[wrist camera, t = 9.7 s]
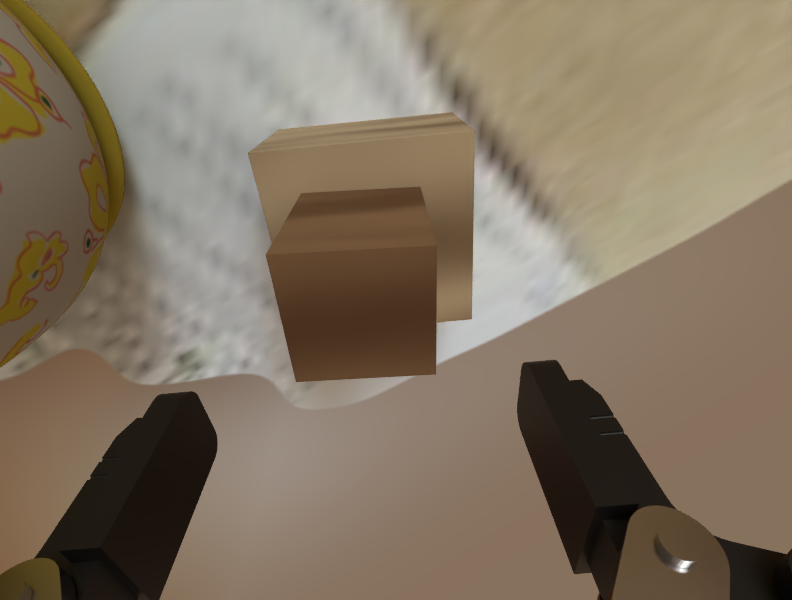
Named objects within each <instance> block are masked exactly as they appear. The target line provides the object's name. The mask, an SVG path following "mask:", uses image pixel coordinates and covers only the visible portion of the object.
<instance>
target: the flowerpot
mask: <svg viewBox="0 0 792 600" xmlns="http://www.w3.org/2000/svg"><path fill="white" fill-rule="evenodd" d="M124 184H125V172H124V161H123V155H122V150H121V146H120V142H119V138H118V135H117V132H116V129H115V126H114V123H113V121H112V118H111V116H110V113H109V111H108V109H107V107H106V105H105V103H104V101H103V98H102V97H101V95H100V93H99V91H98V89H97V88H96V86H95V84H94V83H93V81H92V79H91V78H90V76H89V75H88V73H87V72H86V70H85V69H84V67H83V66H82V65H81V63H80V62H79V60H78V59H77V58H76V56H75V55H74V54H73V53H72V51H71V50H70V49H69V48H68V46H67V45H66V44H65V43H64V42H63V41H62V39H61V38H60V37H59V36H58V35H57V34H56V33H55V31H54V30H53V29H52V28H51V27H50V26H49V25H48V24H47V23H46V22H45V21H44V20H43V19H42V18H41V17H40V16H39V15H37V14H36V13H35V12H34V11H33V10H32V9H31V8H30V7H29V6H28V5H26V4H25V3H24V2H23V1H22V0H0V367H2V366H3V365H5V364H6V363H7V362H9V361H10V360H11V359H13V358H14V357H15V356H17V355H18V354H19V353H21V352H22V351H23V350H24V349H26V348H27V347H28V346H29V345H30V344H32V343H33V342H34V341H35V340H36V339H37V338H39V337H40V336H41V335H42V334H43V333H44V332H45V331H47V330H48V329H49V328H50V327H51V326H52V325H53V324H54V323H55V322H56V321H57V320H58V319H59V318H60V317H61V316H62V315H63V313H64V312H65V311H66V310H67V309H68V308H69V307H70V306H71V304H72V303H73V302H74V301H75V299H76V298H77V296H78V295H79V294H80V292H81V291H82V289H83V288H84V286H85V285H86V283H87V281H88V280H89V278H90V276H91V274H92V272H93V270H94V268H95V266H96V263H97V261H98V258H99V256H100V253H101V250H102V247H103V243H104V239H105V235H106V234H107V233H108V232H109V230H110V229H111V227H112V226H113V224H114V222H115V220H116V218H117V216H118V213H119V211H120V208H121V204H122V200H123V194H124Z"/></svg>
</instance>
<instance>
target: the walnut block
mask: <svg viewBox="0 0 792 600" xmlns="http://www.w3.org/2000/svg"><path fill="white" fill-rule="evenodd" d="M266 257H267V262H268V266H269V270H270V274H271V278H272V283H273V287H274V291H275V295H276V299H277V304H278V308H279V312H280V316H281V320H282V325H283V329H284V333H285V337H286V341H287V346H288V350H289V354H290V358H291V362H292V367H293V371H294V375H295V379H296V382H303V381H321V380H340V379H358V378H376V377H395V376H413V375H431V374H436V315H437V243H436V240H435V236H434V233H433V229H432V226H431V222H430V219H429V215H428V212H427V208H426V205H425V201H424V198H423V194H422V191H421V187H406V188H387V189H369V190H350V191H331V192H313V193H301V194H300V196H299V198H298V200H297V201H296V203H295V205H294V207H293V208H292V210H291V212H290V213H289V215H288V217H287V219H286V220H285V222H284V224H283V226H282V227H281V229H280V231H279V233H278V234H277V236H276V238H275V240H274V241H273V243H272V245H271V247H270V248H269V250H268V252H267V254H266Z"/></svg>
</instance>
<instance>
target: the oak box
mask: <svg viewBox="0 0 792 600" xmlns="http://www.w3.org/2000/svg"><path fill="white" fill-rule="evenodd" d="M474 148H475V131H474V130H473V129H472V128H471V127H469V126H468V125H467V124H466V123H465V122H463V121H462V120H461V119H460V118H458V117H457V116H456V115H455V114H453V113H452V112H451V113H441V114H430V115H420V116H410V117H400V118H390V119H380V120H370V121H359V122H349V123H339V124H329V125H319V126H309V127H299V128H288V129H279V130H278V131H276V132H275V133H274V134H273V135H271V136H270V137H269V138H267V139H266V140H265V141H263V142H262V143H261V144H259V145H258V146H257V147H255V148H254V149H253V150H251V151H250V152H249V153H248V155H249V159H250V162H251V166H252V170H253V174H254V177H255V181H256V185H257V188H258V192H259V196H260V200H261V203H262V207H263V211H264V214H265V218H266V222H267V226H268V229H269V233H270V237H271V240H272V243H273V241H274V240H275V238H276V236H277V234H278V233H279V231H280V229H281V227H282V226H283V224H284V222H285V220H286V219H287V217H288V215H289V213H290V212H291V210H292V208H293V207H294V205H295V203H296V201H297V200H298V198H299V196H300V194H301V193H313V192H331V191H350V190H369V189H387V188H406V187H421V191H422V194H423V198H424V201H425V205H426V208H427V212H428V215H429V219H430V222H431V226H432V229H433V233H434V236H435V240H436V243H437V315H436V322H445V321H456V320H467V319H472V271H473V210H474Z"/></svg>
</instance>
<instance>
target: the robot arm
mask: <svg viewBox="0 0 792 600" xmlns="http://www.w3.org/2000/svg"><path fill="white" fill-rule="evenodd" d="M517 413H518V421H519V426H520V430H521V432H522V436H523V438H524V441H525V444H526V446H527V449H528V452H529V454H530V457H531V459H532V462H533V465H534V468H535V470H536V473H537V475H538V478H539V481H540V484H541V486H542V489H543V492H544V494H545V497H546V500H547V503H548V505H549V508H550V511H551V513H552V516H553V518H554V521H555V524H556V527H557V529H558V532H559V535H560V538H561V540H562V543H563V546H564V548H565V551H566V553H567V556H568V559H569V562H570V564H571V567H572V570H573V572H574V574H581V573H592V575H593V577H594V580H595V582H596V584H597V587H598V589H599V595H598V598H597V600H792V549H791V550H790V551H789V552H788V554H783V553H779V552H774V551H770V550H766V549H761V548H757V547H753V546H748V545H744V544H739V543H735V542H731V541H728V540H724V539H721V538H719V537H716V536H713V535H712V534H711V533H710V532H709V531H708V530H707V529H706V528H705V527H704V526H703V525H701V524H700V523H699V522H698V521H696V520H695V519H693V518H692V517H690V516H689V515H686V514H685V513H683V512H681V511H678V510H676V508H675V507H674V506H673V505H672V504H671V503H670V501H669V500H668V499H667V497H666V495H665V494H664V492H663V491H662V489H661V488H660V486H659V485H658V483H657V482H656V480H655V478H654V477H653V475H652V474H651V472H650V471H649V469H648V467H647V466H646V464H645V463H644V461H643V460H642V458H641V457H640V455H639V453H638V452H637V450H636V449H635V447H634V446H633V444H632V442H631V441H630V439H629V438H628V436H627V435H625V434H624V432H623V428H622V427H621V425H620V424H619V422H618V421H617V419H616V418H614V416H613V413H612V411H611V410H610V408H609V407H608V405H607V403H606V402H605V400H604V399H603V397H602V396H601V395H600V394H599V393H598V392H597V391H595V390H594V389H593V388H591V387H590V386H589V385H588V384H587V383H585V382H584V381H583V380H572V381H569V379H568V378H567V376H566V374H565V373H564V371H563V369H562V367H561V365H560V364H559V363H558V361H556V360H546V361H536V362H525V363H523V365H522V368H521V376H520V386H519V395H518V403H517ZM216 453H217V435H216V432H215V429H214V427H213V425H212V423H211V421H210V419H209V417H208V415H207V413H206V411H205V409H204V407H203V405H202V403H201V401H200V399H199V397H198V395H197V394H196V393H195V392H179V393H169V394H161V395H158V396H157V397H156V398H155V399H154V401H153V402H152V404H151V405H150V407H149V408H148V410H147V411H146V413H145V415H144V416H143V418H137V419H135V420H134V421H133V422H132V423H131V424H130V425H129V426H128V427H127V428H125V429H124V430H123V431H122V432H121V433H120V434H119V435H118V436H117V437H116V438H115V440H114V441H113V442H112V444H111V446H110V447H109V448H108V450H107V451H106V453H105V454H104V456H103V457H102V458H103V460H102V462H99V463H98V465H97V467H96V468H95V469H94V471H93V473H92V474H91V475H90V476H91V479H90V480H87V481H86V483H85V484H84V486H83V487H82V489H81V490H80V492H79V493H78V495H77V496H76V498H75V499H74V501H73V502H72V504H71V505H70V507H69V508H68V510H67V512H66V513H65V514H64V516H63V517H62V519H61V520H60V522H59V523H58V525H57V526H56V528H55V529H54V531H53V532H52V534H51V535H50V537H49V538H48V540H47V541H46V543H45V544H44V546H43V547H42V549H41V550H40V551H39V553H38V554H37V555H36V557H35V558H34V559H31V560H27V561H25V562H22V563H20V564H18V565H16V566H14V567H12V568H10V569H9V570H7V571H6V572H4V573H3V574H1V575H0V600H159V599H160V596H161V594H162V591H163V588H164V586H165V584H166V581H167V579H168V576H169V573H170V571H171V568H172V566H173V563H174V561H175V558H176V556H177V553H178V551H179V548H180V545H181V543H182V540H183V538H184V535H185V533H186V530H187V528H188V525H189V523H190V520H191V518H192V515H193V513H194V510H195V508H196V505H197V503H198V500H199V497H200V495H201V492H202V490H203V487H204V485H205V482H206V479H207V477H208V475H209V472H210V470H211V467H212V464H213V462H214V459H215V457H216Z"/></svg>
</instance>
